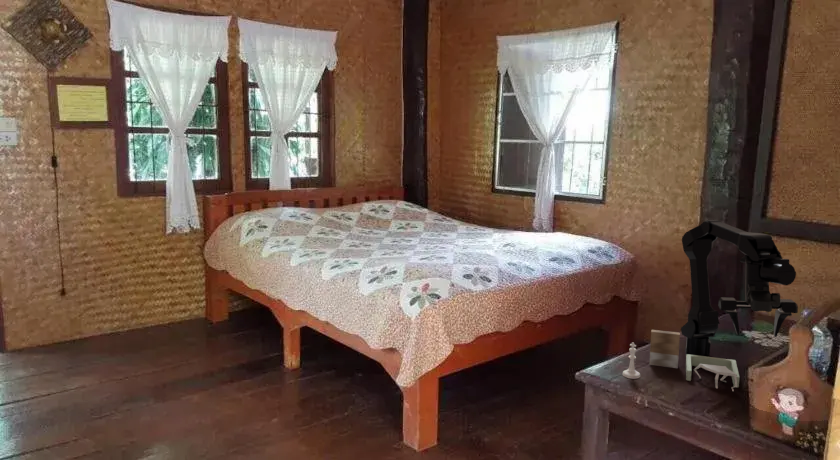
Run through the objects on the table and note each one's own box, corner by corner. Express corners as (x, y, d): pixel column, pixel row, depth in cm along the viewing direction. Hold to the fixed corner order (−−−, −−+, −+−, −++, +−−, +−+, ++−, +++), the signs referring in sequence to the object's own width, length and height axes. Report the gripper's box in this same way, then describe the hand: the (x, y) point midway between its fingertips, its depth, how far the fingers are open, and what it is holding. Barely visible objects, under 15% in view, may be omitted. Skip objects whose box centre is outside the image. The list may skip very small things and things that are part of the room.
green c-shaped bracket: (686, 380, 178) (686, 370, 178) (685, 363, 190) (686, 354, 190) (738, 387, 173) (739, 377, 172) (734, 369, 185) (735, 360, 185)
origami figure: (740, 383, 176) (742, 367, 175) (736, 394, 169) (737, 377, 168) (695, 374, 183) (696, 358, 182) (689, 384, 176) (690, 367, 175)
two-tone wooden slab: (649, 364, 190) (651, 331, 188) (649, 362, 192) (651, 329, 190) (677, 368, 187) (679, 334, 185) (677, 365, 189) (679, 332, 187)
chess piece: (626, 370, 185) (627, 338, 184) (642, 374, 182) (644, 342, 180) (619, 375, 181) (621, 343, 180) (636, 380, 178) (638, 346, 177)
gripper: (723, 283, 167) (723, 341, 168) (803, 285, 161) (802, 345, 162) (718, 277, 177) (717, 331, 178) (793, 279, 171) (792, 334, 172)
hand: (756, 335), depth 172 cm, fingers open, 9 cm apart
